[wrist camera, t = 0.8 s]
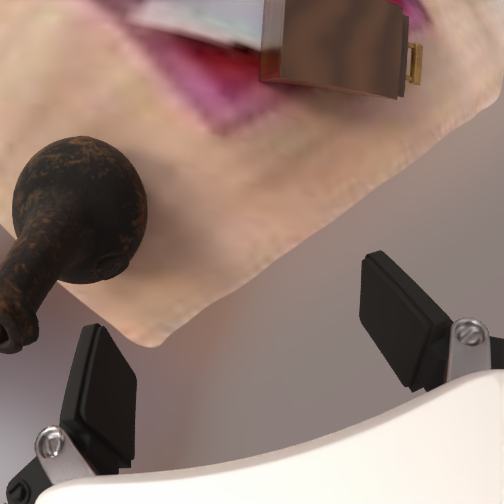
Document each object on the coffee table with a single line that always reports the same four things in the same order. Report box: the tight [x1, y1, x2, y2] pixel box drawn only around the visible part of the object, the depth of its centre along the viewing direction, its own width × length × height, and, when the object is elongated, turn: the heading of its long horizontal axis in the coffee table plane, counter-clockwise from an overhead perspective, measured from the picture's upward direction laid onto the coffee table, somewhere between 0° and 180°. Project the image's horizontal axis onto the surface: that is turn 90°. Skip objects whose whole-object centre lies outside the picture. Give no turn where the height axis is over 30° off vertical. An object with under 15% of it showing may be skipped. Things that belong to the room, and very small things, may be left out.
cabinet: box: [259, 0, 403, 100], centre depth 30 cm, size 15×13×10 cm
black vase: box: [0, 136, 147, 354], centre depth 26 cm, size 18×18×28 cm
